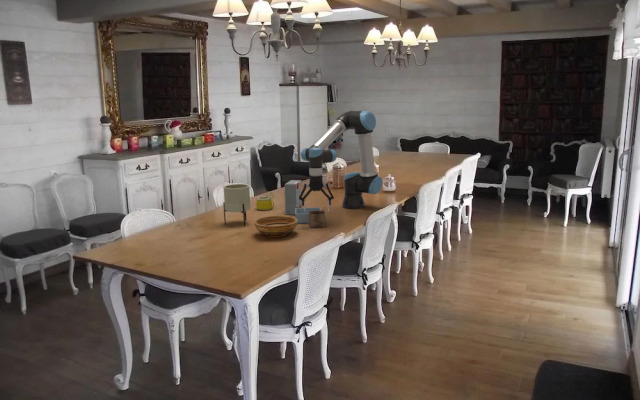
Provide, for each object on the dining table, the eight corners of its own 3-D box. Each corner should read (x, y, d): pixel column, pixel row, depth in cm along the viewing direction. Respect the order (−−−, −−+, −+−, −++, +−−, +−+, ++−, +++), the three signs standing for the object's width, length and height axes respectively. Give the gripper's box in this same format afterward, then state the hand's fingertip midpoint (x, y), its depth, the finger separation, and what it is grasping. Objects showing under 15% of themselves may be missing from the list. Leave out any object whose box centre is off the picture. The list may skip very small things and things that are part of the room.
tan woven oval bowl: (279, 244, 280) (279, 229, 278) (242, 238, 291) (241, 224, 290) (308, 230, 305) (308, 216, 303) (273, 225, 316) (273, 212, 315)
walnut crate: (324, 223, 318) (324, 210, 317) (325, 227, 310) (325, 214, 308) (309, 224, 318) (309, 211, 316) (309, 228, 309) (309, 214, 308)
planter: (256, 221, 328) (254, 184, 323) (242, 227, 314) (240, 189, 309) (235, 219, 334) (233, 183, 329) (220, 225, 320) (218, 187, 315)
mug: (253, 210, 357) (252, 192, 354) (261, 207, 367) (260, 189, 364) (270, 211, 352) (269, 193, 350) (277, 208, 362) (277, 190, 360)
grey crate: (320, 216, 335) (320, 207, 334) (321, 222, 320) (321, 213, 319) (295, 217, 335) (295, 208, 333) (295, 223, 319) (295, 214, 318)
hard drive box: (296, 215, 341) (295, 184, 337) (285, 214, 343) (283, 184, 339) (302, 209, 356) (301, 180, 352) (291, 209, 358) (290, 179, 353)
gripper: (337, 173, 312) (337, 209, 316) (294, 174, 311) (295, 210, 315) (338, 175, 304) (338, 212, 308) (294, 176, 303) (295, 213, 307)
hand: (316, 211), depth 312 cm, fingers open, 13 cm apart
